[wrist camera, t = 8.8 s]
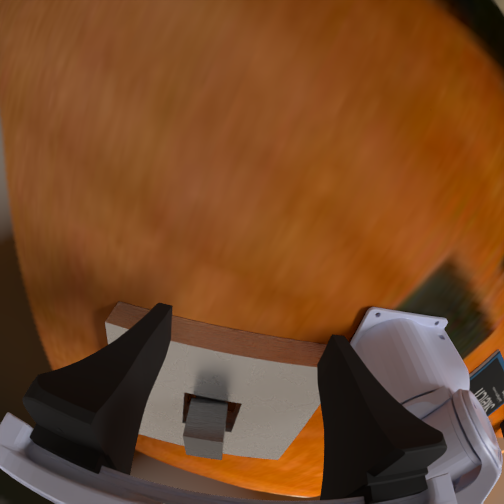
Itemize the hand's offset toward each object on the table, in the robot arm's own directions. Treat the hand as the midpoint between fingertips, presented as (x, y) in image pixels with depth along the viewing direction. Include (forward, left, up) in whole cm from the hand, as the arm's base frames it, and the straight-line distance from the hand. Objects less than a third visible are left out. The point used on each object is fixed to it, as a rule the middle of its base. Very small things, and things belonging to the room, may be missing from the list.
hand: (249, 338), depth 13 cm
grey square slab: (+1, +18, -9) cm, 20 cm away
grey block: (+1, +18, -10) cm, 20 cm away
